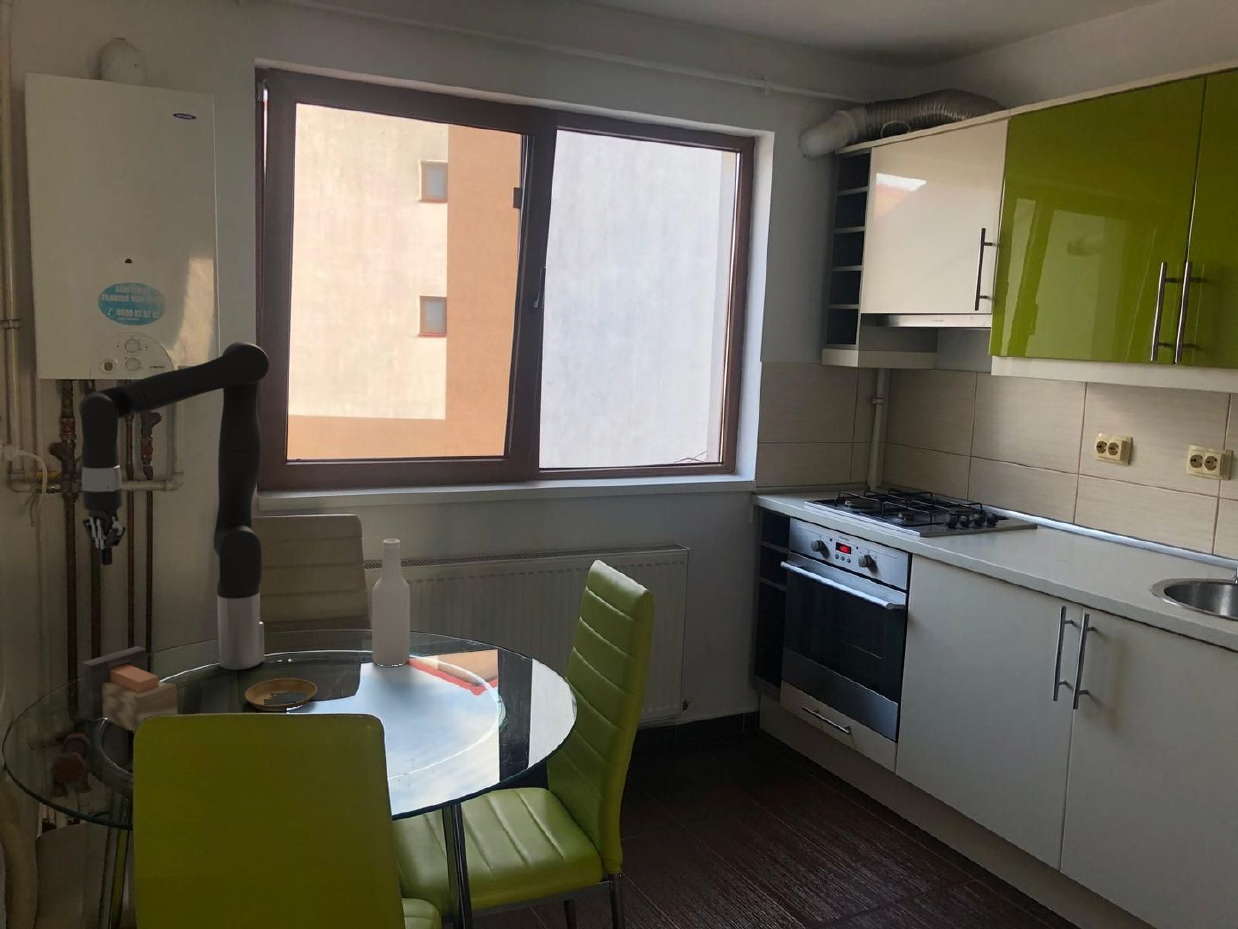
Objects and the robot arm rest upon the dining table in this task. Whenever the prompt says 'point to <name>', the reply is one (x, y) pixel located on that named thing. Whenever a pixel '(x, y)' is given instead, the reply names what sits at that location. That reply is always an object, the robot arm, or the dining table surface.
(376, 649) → the alcohol
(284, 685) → the plant saucer
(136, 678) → the peg
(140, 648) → the frame
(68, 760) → the bolt
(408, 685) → the dining table surface
